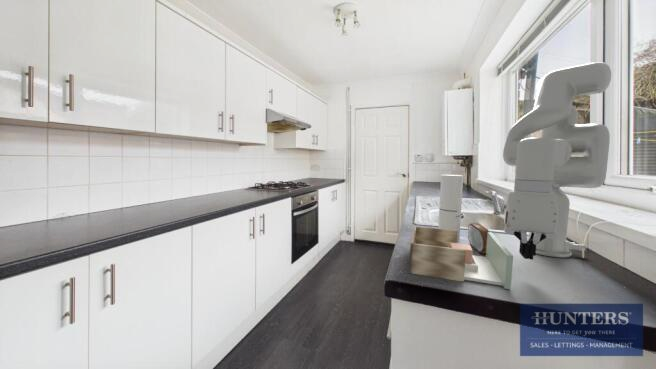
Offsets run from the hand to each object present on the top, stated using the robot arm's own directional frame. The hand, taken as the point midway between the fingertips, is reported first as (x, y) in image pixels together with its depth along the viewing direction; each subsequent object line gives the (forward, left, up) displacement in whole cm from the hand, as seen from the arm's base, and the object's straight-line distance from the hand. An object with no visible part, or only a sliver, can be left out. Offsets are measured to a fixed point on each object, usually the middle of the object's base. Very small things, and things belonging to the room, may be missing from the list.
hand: (526, 257), depth 66 cm
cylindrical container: (+17, -22, -5) cm, 28 cm away
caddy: (+22, 0, -5) cm, 22 cm away
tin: (+8, -19, -5) cm, 21 cm away
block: (+15, 0, -4) cm, 16 cm away
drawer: (+13, 0, -5) cm, 14 cm away
